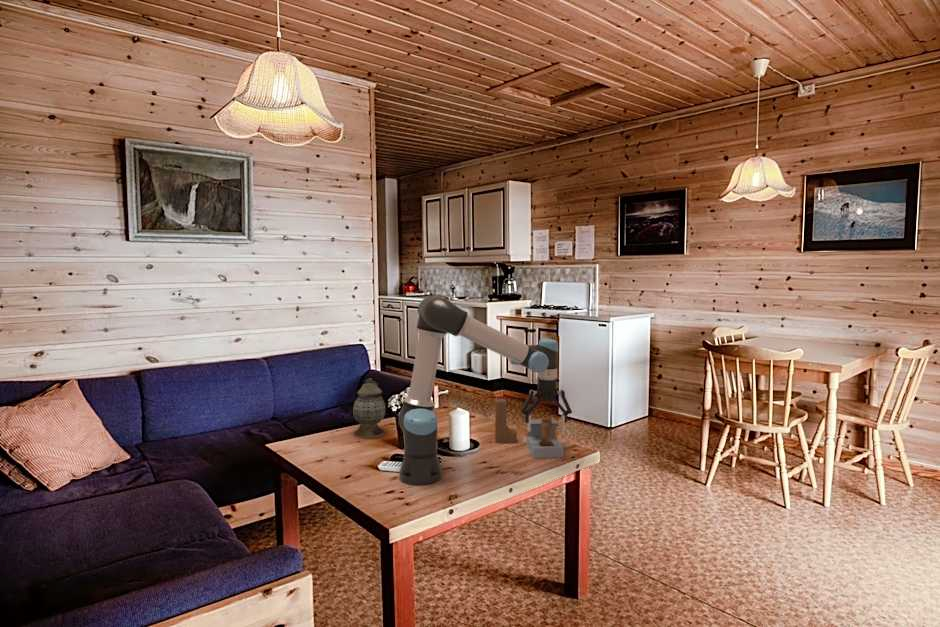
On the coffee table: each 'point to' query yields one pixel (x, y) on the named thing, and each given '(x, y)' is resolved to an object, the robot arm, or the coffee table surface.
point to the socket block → (535, 441)
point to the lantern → (369, 410)
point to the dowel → (546, 432)
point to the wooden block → (503, 424)
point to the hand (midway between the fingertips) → (545, 430)
